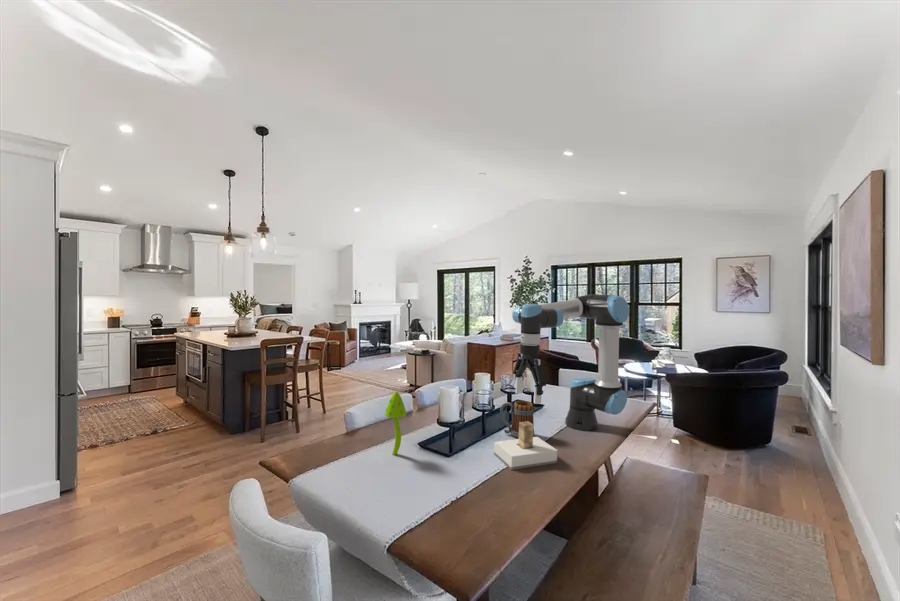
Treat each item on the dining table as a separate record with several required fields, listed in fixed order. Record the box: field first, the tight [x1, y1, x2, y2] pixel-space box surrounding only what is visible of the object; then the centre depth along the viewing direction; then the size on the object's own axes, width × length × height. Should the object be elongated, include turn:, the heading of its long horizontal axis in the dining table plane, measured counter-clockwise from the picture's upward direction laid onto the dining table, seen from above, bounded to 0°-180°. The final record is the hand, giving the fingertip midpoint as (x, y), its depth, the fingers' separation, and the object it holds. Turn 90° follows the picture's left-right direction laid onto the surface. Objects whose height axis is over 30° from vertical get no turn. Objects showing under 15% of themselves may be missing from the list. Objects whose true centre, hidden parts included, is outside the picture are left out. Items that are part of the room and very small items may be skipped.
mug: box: [499, 400, 535, 439], centre depth 183 cm, size 16×11×15 cm
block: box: [493, 436, 558, 471], centre depth 160 cm, size 20×14×5 cm
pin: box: [518, 421, 533, 449], centre depth 159 cm, size 4×4×13 cm
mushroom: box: [384, 391, 407, 456], centre depth 159 cm, size 8×8×25 cm
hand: (527, 398), depth 159 cm, fingers open, 13 cm apart
